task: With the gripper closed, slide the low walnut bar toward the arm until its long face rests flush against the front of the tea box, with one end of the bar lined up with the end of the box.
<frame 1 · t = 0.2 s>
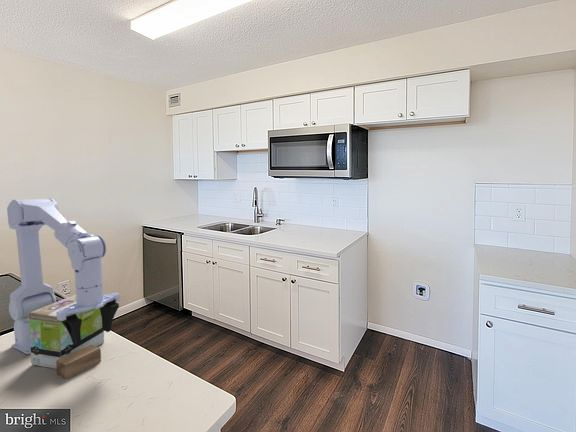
hand: (92, 336, 81), 10 cm above the countertop, tool pointing down, fingers open, 7 cm apart
walnut bar: (79, 368, 85), on the countertop
tea box: (70, 353, 92), on the countertop
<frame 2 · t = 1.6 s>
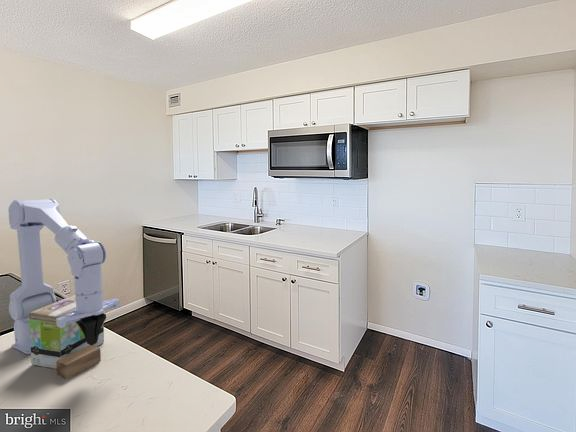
hand: (92, 343, 81), 8 cm above the countertop, tool pointing down, fingers closed
nothing on the countertop moved.
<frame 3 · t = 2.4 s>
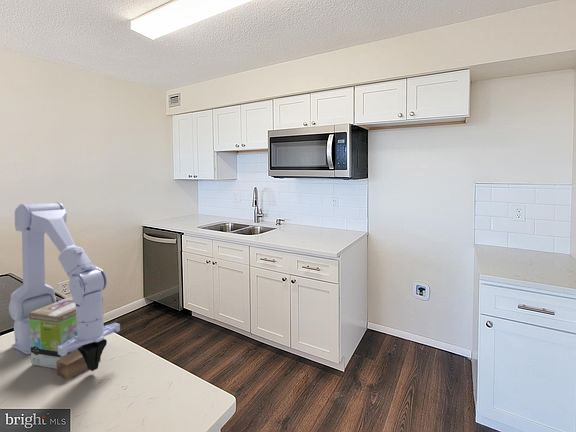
hand: (92, 368, 82), 1 cm above the countertop, tool pointing down, fingers closed
nothing on the countertop moved.
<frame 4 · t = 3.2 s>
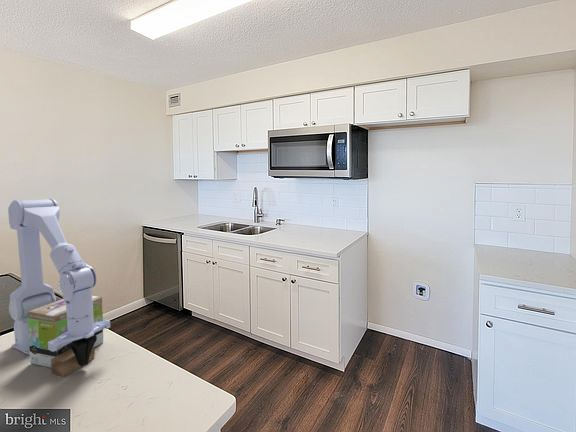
hand: (83, 364, 84), 1 cm above the countertop, tool pointing down, fingers closed
walnut bar: (74, 365, 86), on the countertop, touching gripper
everything else where it was.
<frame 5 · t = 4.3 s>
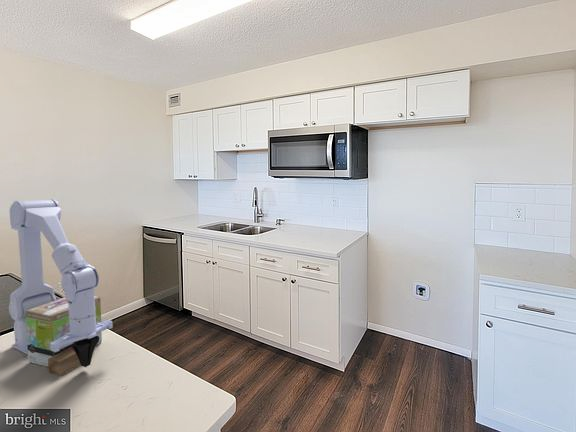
hand: (85, 364, 84), 2 cm above the countertop, tool pointing down, fingers closed
walnut bar: (71, 365, 86), on the countertop
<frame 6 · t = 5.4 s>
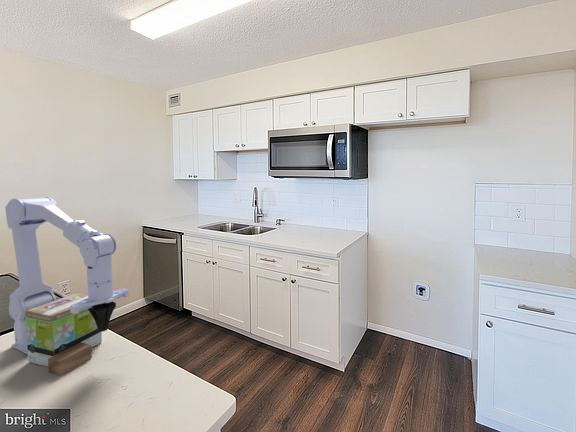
hand: (102, 329, 86), 9 cm above the countertop, tool pointing down, fingers closed
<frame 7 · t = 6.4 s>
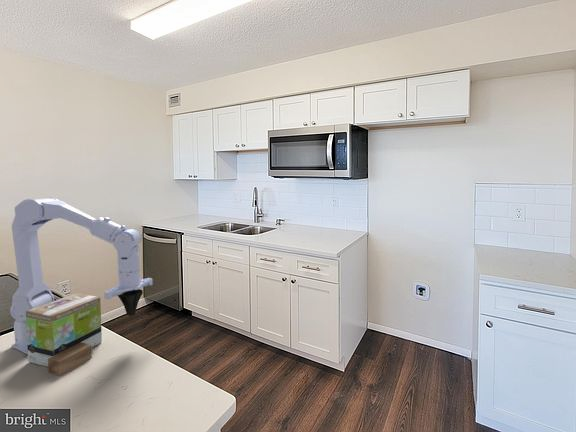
hand: (131, 314, 96), 9 cm above the countertop, tool pointing down, fingers closed
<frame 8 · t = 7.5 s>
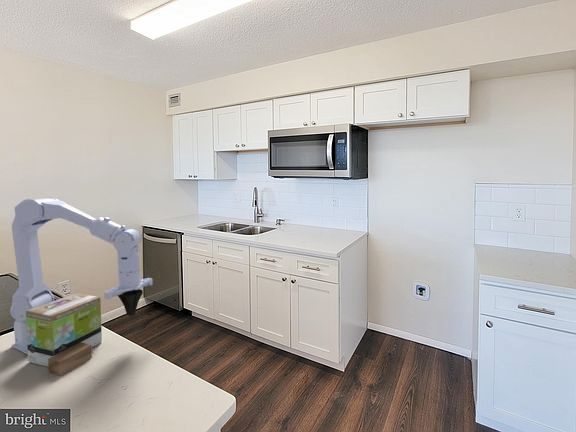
hand: (131, 314, 96), 9 cm above the countertop, tool pointing down, fingers closed
at the end: walnut bar 0.3 cm from the target spot on the countertop beside the tea box, on the countertop; walnut bar tilted 0°; tea box tilted 0° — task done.
